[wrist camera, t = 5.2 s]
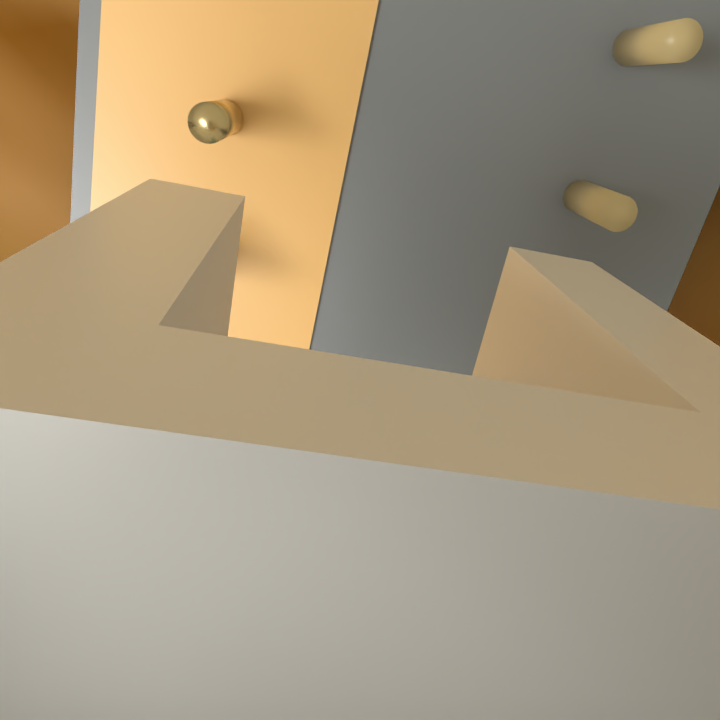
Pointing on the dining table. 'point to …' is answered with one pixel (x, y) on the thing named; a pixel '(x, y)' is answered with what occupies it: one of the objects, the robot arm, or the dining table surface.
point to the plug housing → (345, 497)
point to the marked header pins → (214, 120)
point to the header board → (411, 150)
